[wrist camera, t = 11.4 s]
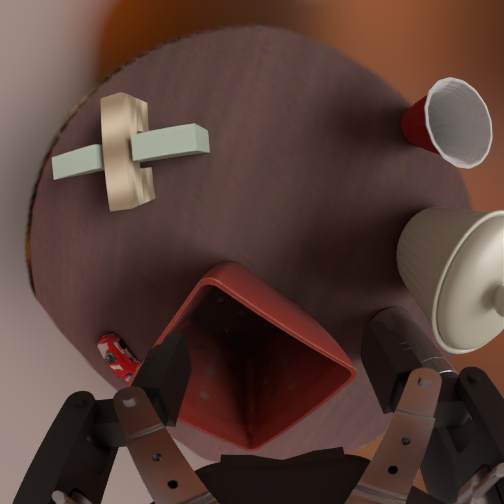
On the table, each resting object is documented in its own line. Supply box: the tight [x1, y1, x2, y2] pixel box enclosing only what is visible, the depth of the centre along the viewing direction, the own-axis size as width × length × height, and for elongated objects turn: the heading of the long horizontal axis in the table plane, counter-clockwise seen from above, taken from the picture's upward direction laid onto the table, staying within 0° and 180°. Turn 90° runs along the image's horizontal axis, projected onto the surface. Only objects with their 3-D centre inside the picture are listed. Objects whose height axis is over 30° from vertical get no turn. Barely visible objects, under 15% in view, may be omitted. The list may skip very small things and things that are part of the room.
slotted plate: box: [101, 92, 155, 211], centre depth 32 cm, size 14×3×8 cm, turn 4°
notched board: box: [52, 123, 210, 180], centre depth 32 cm, size 20×3×8 cm, turn 94°
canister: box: [396, 206, 504, 354], centre depth 29 cm, size 18×18×21 cm
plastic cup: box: [401, 77, 492, 168], centre depth 28 cm, size 11×11×12 cm
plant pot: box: [127, 261, 357, 451], centre depth 35 cm, size 19×19×17 cm
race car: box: [97, 333, 141, 383], centre depth 46 cm, size 13×5×4 cm, turn 26°
